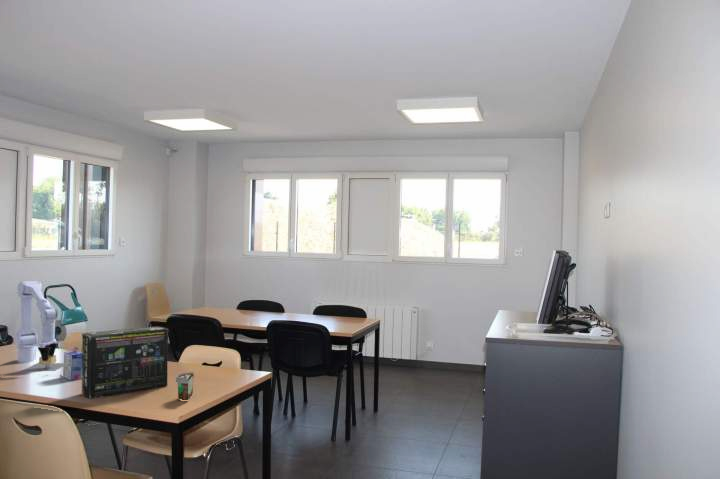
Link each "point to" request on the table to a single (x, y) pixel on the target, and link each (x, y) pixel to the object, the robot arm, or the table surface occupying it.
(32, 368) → the board
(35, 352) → the robot arm
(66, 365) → the ink cartridge box
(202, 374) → the table surface
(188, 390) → the food container
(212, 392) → the table surface
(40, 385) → the table surface
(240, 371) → the table surface
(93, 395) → the router box
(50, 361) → the wooden collar
